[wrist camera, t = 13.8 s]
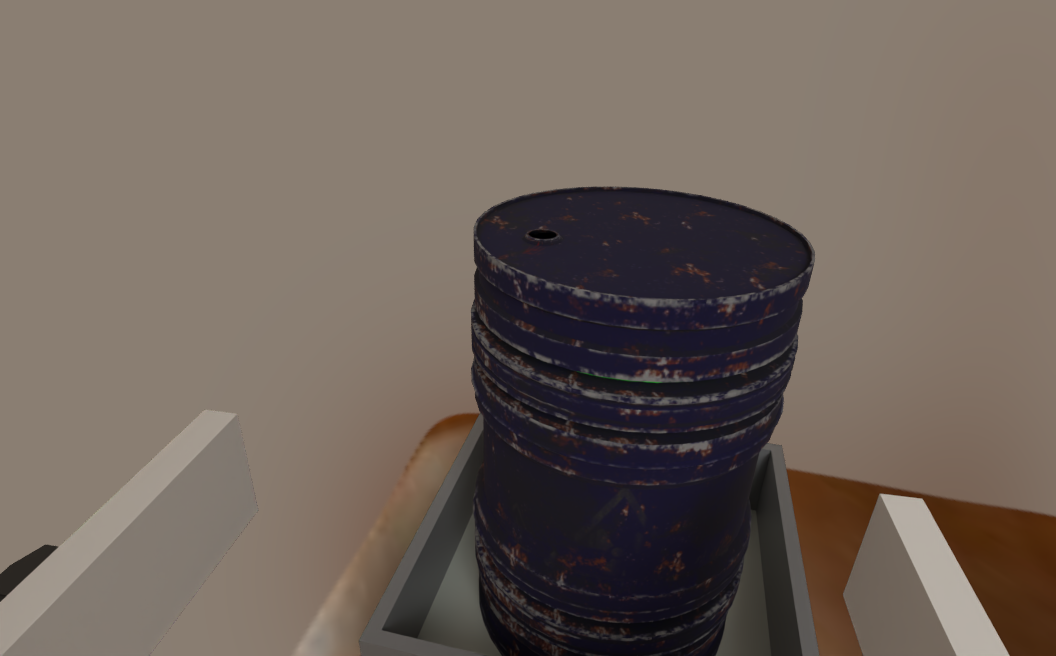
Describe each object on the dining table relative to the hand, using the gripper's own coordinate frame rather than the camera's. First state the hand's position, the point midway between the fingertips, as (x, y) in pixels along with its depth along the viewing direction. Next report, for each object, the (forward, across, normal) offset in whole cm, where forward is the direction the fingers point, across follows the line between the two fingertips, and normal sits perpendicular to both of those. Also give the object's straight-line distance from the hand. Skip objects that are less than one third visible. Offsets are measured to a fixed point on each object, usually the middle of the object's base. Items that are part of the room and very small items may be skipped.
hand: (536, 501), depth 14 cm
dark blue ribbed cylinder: (+8, +2, -12) cm, 14 cm away
